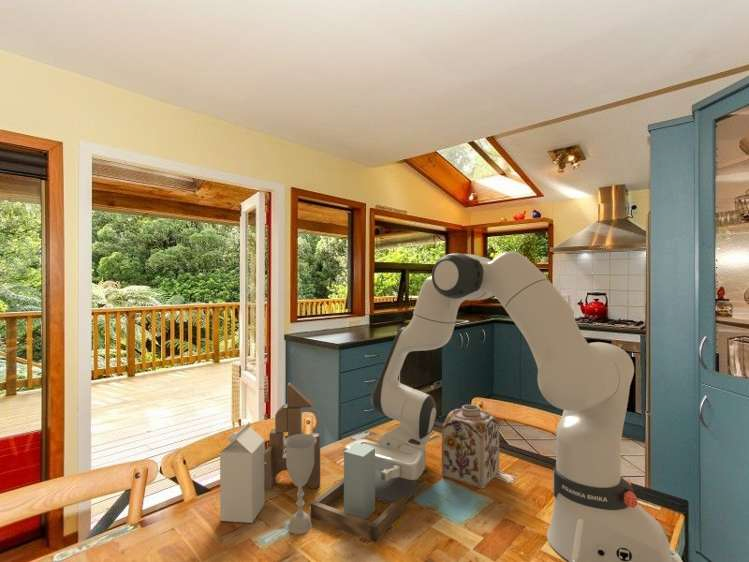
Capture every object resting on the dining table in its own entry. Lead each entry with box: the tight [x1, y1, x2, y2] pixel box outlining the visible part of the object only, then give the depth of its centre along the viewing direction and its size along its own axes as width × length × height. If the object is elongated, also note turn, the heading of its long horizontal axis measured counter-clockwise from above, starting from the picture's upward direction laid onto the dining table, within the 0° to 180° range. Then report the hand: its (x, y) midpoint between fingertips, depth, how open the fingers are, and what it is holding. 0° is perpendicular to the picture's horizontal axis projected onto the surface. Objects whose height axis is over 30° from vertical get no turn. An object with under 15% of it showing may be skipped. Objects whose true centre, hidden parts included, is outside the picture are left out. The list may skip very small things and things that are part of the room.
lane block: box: [343, 443, 376, 520], centre depth 89 cm, size 5×5×14 cm
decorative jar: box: [441, 404, 500, 490], centre depth 106 cm, size 12×12×18 cm
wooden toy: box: [264, 382, 321, 491], centre depth 101 cm, size 16×7×25 cm, turn 94°
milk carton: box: [219, 422, 265, 524], centre depth 88 cm, size 7×7×19 cm
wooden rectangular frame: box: [310, 478, 406, 544], centre depth 88 cm, size 16×13×3 cm
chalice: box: [284, 433, 317, 535], centre depth 84 cm, size 7×7×18 cm
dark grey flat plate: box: [375, 470, 422, 505], centre depth 99 cm, size 14×11×1 cm
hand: (365, 471), depth 91 cm, fingers open, 8 cm apart
